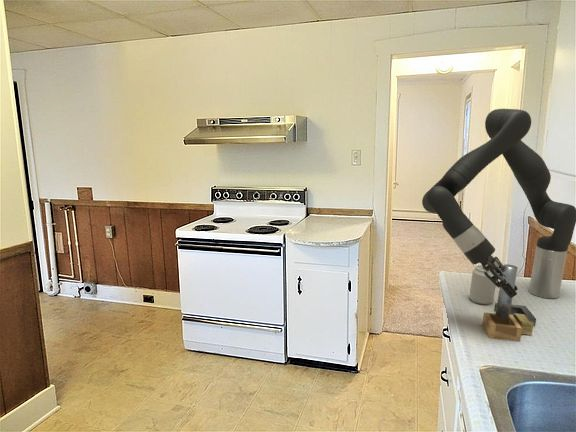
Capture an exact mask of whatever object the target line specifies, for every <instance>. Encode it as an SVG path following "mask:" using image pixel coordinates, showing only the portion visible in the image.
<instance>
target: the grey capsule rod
mask: <svg viewBox="0 0 576 432" xmlns="http://www.w3.org/2000/svg"><path fill="white" fill-rule="evenodd" d="M502 265H503V269H502V271H503V273H504V277H505V278H506V280H507V281H508V283H509V284H510V285H511V286H512V287H513V289H514V287H515V285H516V279H517V274H518V267H517V266H516V265H513V264H509V263H508V264H502ZM498 289H499V290H498V293H497V294H498V296H497V300H496V303H497V307H496V312H494V313H495V315H496V316H497V317H499V318H503V319H508V318H509V316H510V310H511V304H512V303H513V298H514V297H512V298H510V297H509V296H508V295H507V294H506V292H505V291H504V290H503V289H502V288H500V287H499V288H498ZM512 305H513V304H512Z"/></svg>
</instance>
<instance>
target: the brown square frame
mask: <svg viewBox="0 0 576 432" xmlns="http://www.w3.org/2000/svg"><path fill="white" fill-rule="evenodd" d="M495 313H496V312H485V311H484V312H483V315H482V321H481V325H482V327H483V329H484V330H485V331H484V332H486V334H487V336H488V338H489V339H494V340H495V339H496V340H505V341H514V342H521V338H522V334H521V333H522V327H521V326H520V325H519V323H518V322H517V321H516V319H515V318H514V316H513V315H510V316H509V318H508V319H503V318H499V317H497V316H496V315H495Z"/></svg>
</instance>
